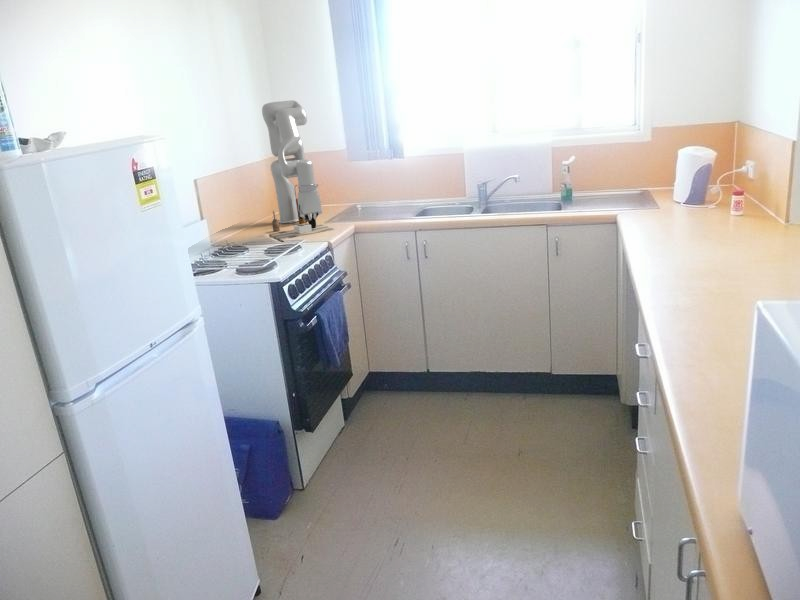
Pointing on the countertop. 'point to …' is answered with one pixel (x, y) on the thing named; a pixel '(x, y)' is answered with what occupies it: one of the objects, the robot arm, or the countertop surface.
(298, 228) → the thermostat
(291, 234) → the subfloor panel
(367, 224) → the countertop surface
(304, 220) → the multimeter
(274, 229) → the awl
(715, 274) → the countertop surface
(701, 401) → the countertop surface
